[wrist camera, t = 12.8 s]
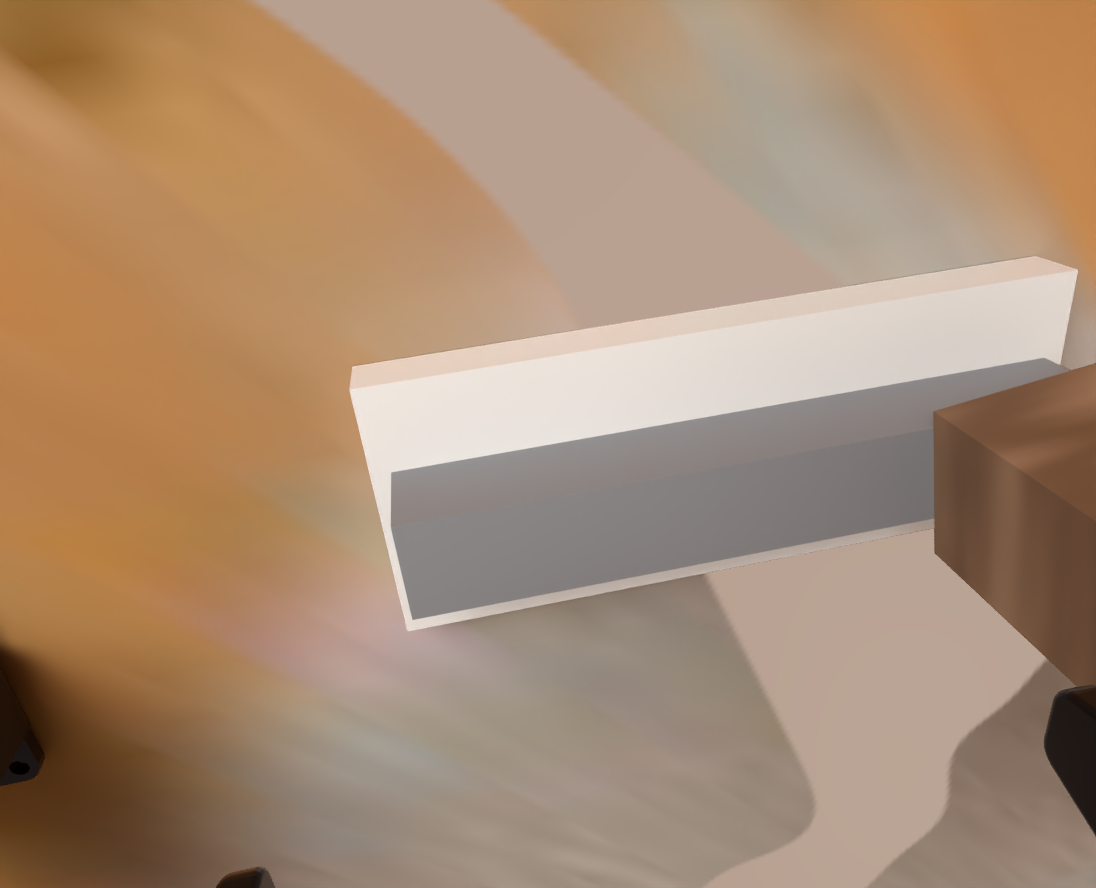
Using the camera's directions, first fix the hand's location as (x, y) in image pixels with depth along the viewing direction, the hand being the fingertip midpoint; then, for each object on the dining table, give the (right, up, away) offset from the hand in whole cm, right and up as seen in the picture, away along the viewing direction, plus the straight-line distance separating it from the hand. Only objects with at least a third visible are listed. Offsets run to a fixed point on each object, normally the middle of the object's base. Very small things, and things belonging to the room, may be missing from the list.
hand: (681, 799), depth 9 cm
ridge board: (+3, +4, +13) cm, 14 cm away
